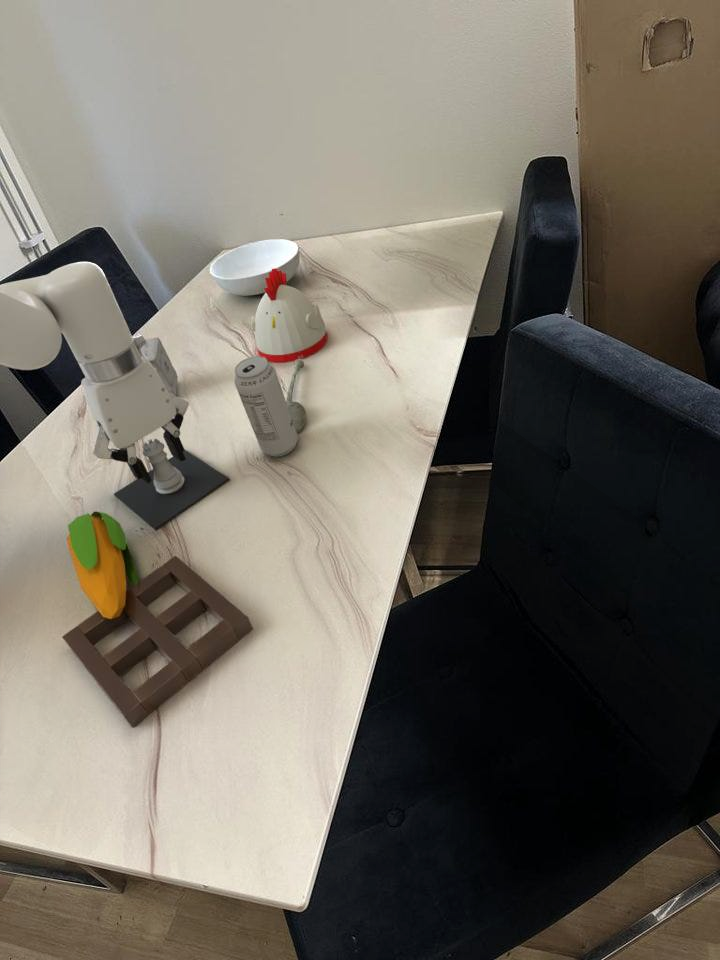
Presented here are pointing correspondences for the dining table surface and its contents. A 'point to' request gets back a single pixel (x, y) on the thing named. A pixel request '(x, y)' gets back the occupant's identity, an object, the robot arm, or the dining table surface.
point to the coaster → (167, 507)
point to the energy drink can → (265, 406)
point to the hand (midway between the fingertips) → (161, 467)
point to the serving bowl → (254, 265)
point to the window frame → (158, 638)
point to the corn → (102, 561)
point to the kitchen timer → (287, 323)
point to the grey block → (161, 363)
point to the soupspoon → (294, 407)
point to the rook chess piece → (162, 468)
